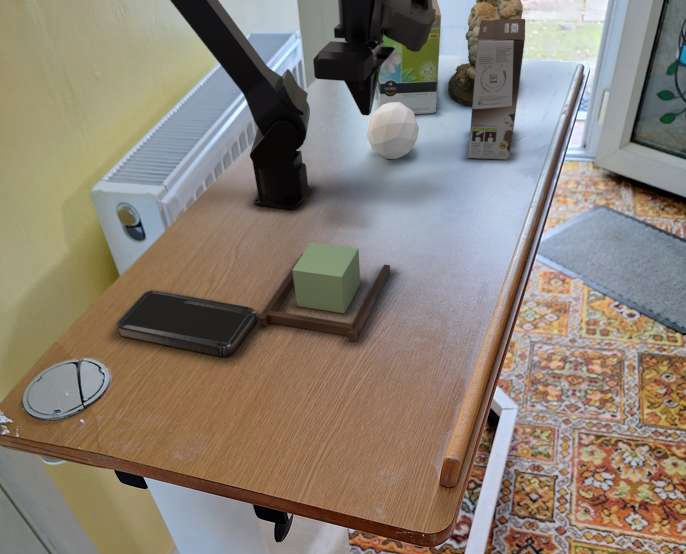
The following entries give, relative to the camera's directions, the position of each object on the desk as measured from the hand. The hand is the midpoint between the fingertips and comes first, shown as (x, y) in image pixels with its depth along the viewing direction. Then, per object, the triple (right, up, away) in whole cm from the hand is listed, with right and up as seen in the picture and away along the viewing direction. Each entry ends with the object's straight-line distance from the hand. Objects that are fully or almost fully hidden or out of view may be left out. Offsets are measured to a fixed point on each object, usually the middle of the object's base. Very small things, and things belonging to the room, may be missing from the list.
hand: (366, 114), depth 88 cm
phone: (-21, -30, -10) cm, 38 cm away
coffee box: (+20, +3, +16) cm, 26 cm away
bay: (-5, -26, -8) cm, 28 cm away
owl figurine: (+22, +21, +32) cm, 44 cm away
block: (-5, -26, -8) cm, 27 cm away
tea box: (+8, +18, +30) cm, 36 cm away
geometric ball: (+5, +2, +16) cm, 17 cm away
